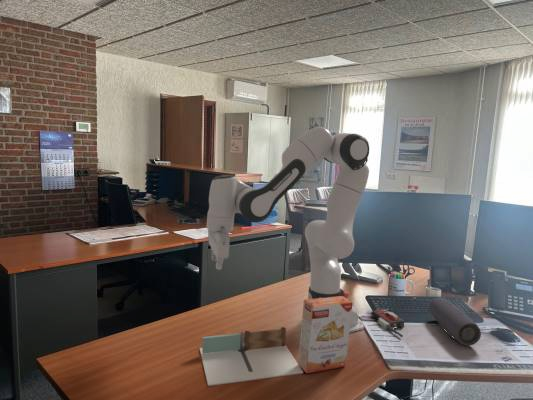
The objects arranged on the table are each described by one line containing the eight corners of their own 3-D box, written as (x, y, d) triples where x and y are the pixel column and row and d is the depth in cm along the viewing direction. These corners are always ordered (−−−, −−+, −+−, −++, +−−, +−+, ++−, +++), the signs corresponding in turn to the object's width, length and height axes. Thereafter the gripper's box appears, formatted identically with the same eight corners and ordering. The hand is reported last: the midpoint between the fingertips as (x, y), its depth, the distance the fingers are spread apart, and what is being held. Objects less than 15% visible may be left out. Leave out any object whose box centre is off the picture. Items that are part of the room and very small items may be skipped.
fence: (284, 343, 130) (284, 326, 129) (285, 346, 128) (286, 329, 127) (243, 348, 126) (244, 330, 125) (244, 350, 124) (245, 333, 123)
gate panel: (242, 348, 125) (243, 331, 125) (243, 349, 124) (244, 333, 124) (202, 352, 122) (202, 335, 121) (202, 354, 121) (202, 337, 120)
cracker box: (306, 375, 112) (312, 306, 110) (297, 364, 118) (302, 298, 115) (346, 367, 118) (353, 301, 115) (335, 357, 123) (341, 294, 121)
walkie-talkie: (366, 316, 155) (399, 340, 137) (366, 306, 155) (400, 328, 136) (384, 314, 159) (419, 337, 140) (385, 304, 158) (420, 325, 139)
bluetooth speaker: (481, 349, 132) (484, 321, 131) (454, 348, 132) (457, 321, 131) (449, 320, 155) (452, 296, 153) (426, 319, 155) (428, 295, 153)
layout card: (281, 340, 133) (281, 338, 133) (303, 373, 114) (303, 371, 114) (199, 349, 125) (199, 347, 125) (208, 386, 106) (208, 384, 106)
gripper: (235, 231, 118) (231, 274, 120) (224, 218, 137) (220, 256, 139) (215, 230, 116) (211, 274, 118) (206, 217, 136) (203, 255, 137)
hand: (216, 264), depth 129 cm, fingers open, 8 cm apart
